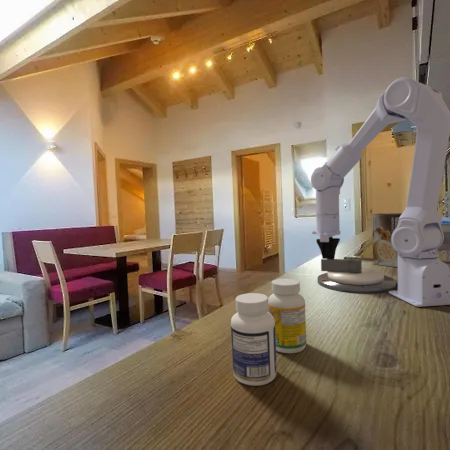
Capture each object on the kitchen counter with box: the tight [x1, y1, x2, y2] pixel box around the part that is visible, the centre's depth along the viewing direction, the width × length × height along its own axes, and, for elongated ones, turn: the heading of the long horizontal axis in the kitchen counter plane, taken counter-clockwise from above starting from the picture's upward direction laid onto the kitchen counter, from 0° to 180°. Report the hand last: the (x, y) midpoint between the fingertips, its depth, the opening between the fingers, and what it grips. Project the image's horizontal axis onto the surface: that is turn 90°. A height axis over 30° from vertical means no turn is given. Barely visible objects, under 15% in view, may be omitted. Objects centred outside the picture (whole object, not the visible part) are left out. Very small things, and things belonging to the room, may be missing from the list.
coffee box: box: [371, 212, 403, 268], centre depth 97 cm, size 9×6×16 cm
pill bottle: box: [230, 292, 278, 387], centre depth 38 cm, size 5×5×10 cm
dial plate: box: [317, 272, 397, 294], centre depth 78 cm, size 18×18×1 cm
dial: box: [320, 258, 385, 285], centre depth 79 cm, size 14×13×5 cm
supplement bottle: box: [267, 278, 307, 354], centre depth 46 cm, size 5×5×10 cm
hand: (328, 265), depth 83 cm, fingers closed
